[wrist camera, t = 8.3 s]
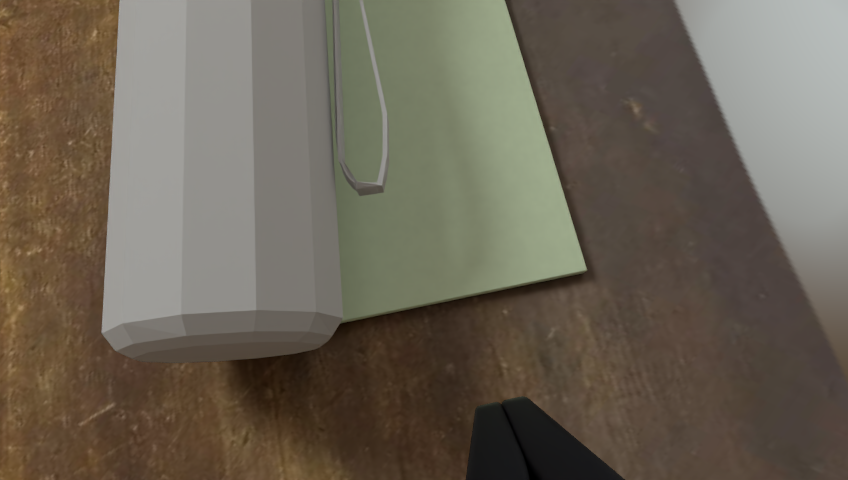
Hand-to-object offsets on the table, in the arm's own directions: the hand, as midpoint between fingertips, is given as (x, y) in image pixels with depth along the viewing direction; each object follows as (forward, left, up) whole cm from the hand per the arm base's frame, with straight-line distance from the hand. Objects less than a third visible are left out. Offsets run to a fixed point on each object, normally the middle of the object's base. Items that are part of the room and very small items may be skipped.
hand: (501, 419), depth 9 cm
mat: (+12, -7, -12) cm, 19 cm away
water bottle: (+6, +4, -8) cm, 11 cm away
